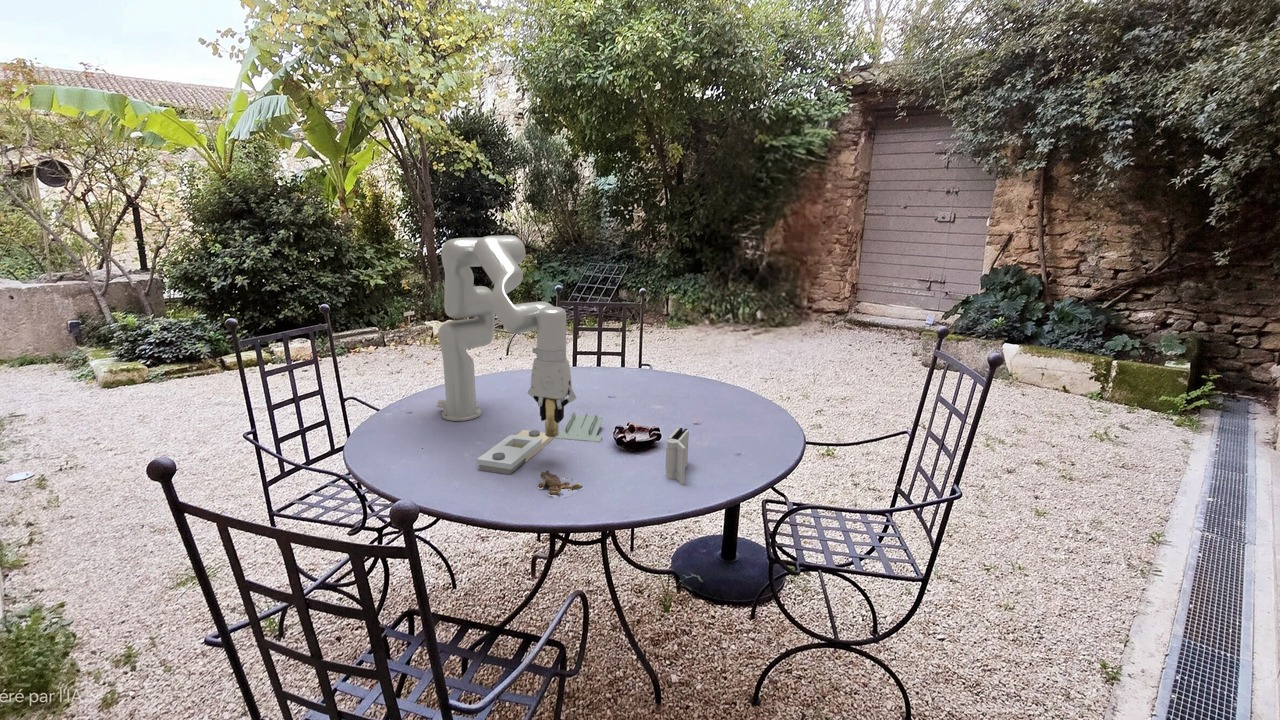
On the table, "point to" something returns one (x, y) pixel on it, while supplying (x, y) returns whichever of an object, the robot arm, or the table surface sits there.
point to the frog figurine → (556, 483)
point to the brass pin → (551, 418)
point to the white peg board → (513, 451)
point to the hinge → (677, 454)
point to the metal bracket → (581, 428)
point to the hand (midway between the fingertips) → (551, 419)
